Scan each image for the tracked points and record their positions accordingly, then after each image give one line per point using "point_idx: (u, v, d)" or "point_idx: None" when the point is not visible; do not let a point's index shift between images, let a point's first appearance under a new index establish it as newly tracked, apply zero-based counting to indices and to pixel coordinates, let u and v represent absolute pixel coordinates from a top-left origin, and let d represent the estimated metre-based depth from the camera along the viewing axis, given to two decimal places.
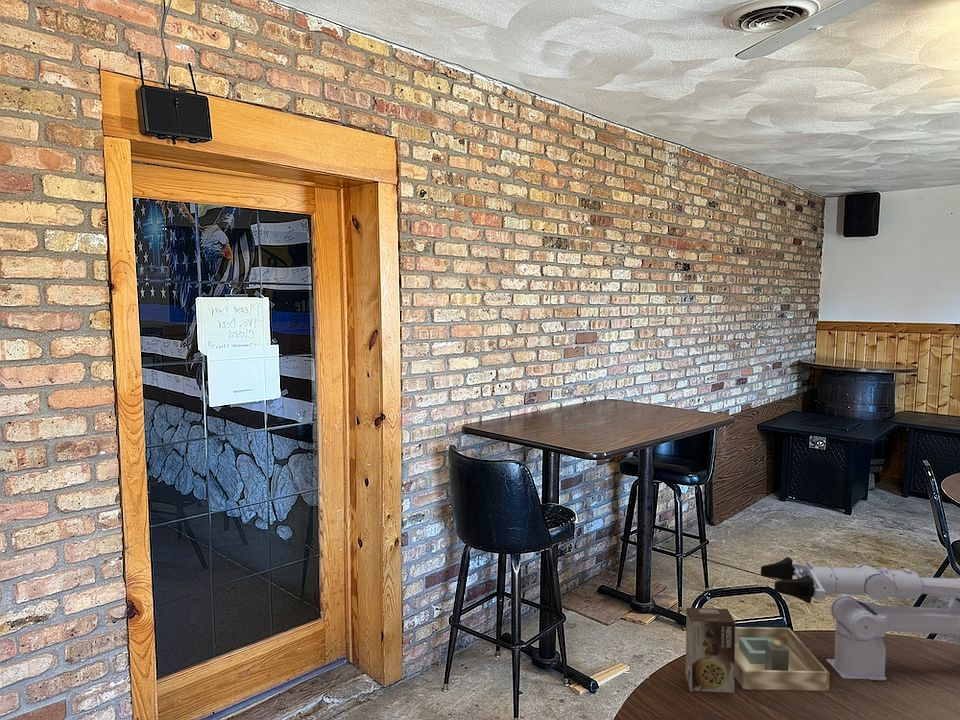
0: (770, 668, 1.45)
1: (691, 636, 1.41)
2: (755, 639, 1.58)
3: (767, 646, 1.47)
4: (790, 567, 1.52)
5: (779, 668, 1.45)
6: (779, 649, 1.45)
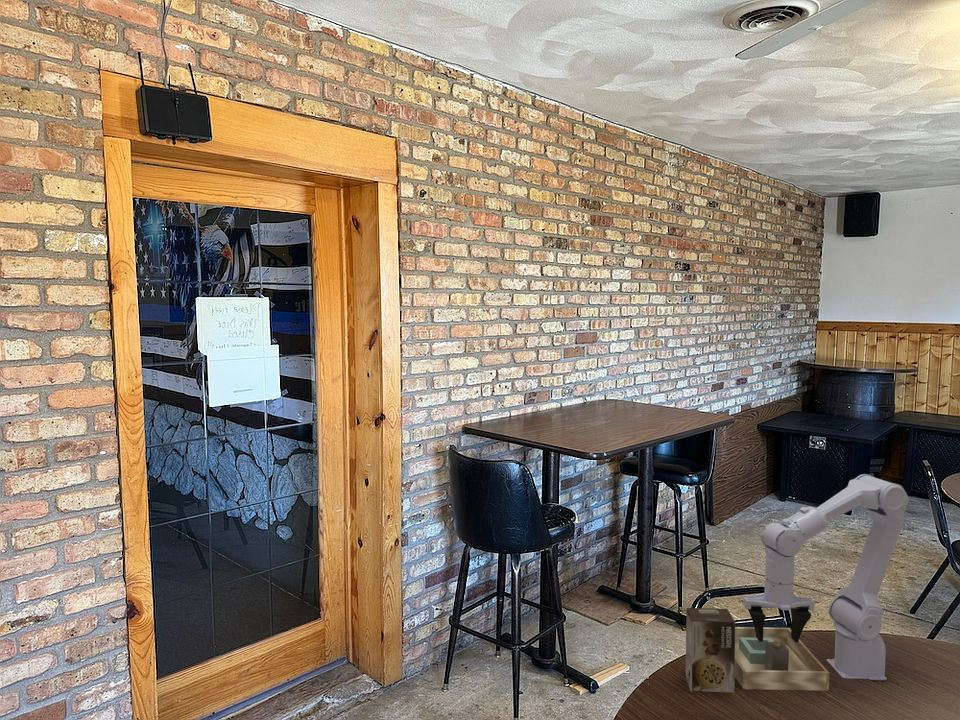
0: (770, 668, 1.45)
1: (691, 636, 1.41)
2: (755, 639, 1.58)
3: (767, 646, 1.47)
4: None
5: (779, 668, 1.45)
6: (779, 649, 1.45)
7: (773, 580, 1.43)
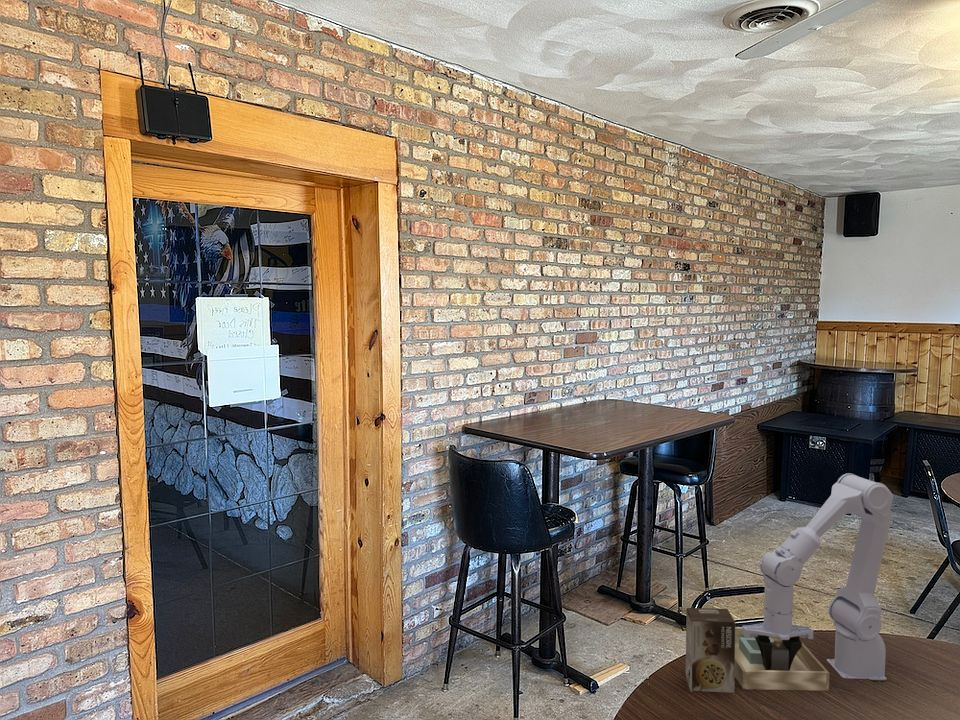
0: (770, 668, 1.45)
1: (691, 636, 1.41)
2: (755, 639, 1.58)
3: None
4: None
5: (779, 668, 1.45)
6: (779, 649, 1.45)
7: (772, 610, 1.44)
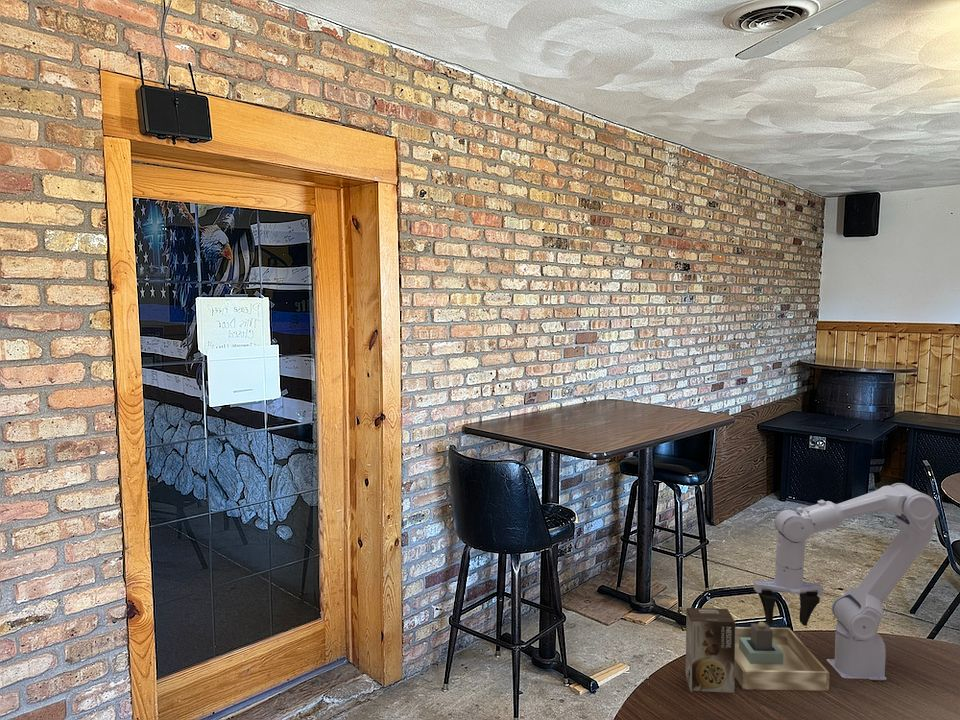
0: (755, 648, 1.54)
1: (691, 636, 1.41)
2: None
3: (752, 627, 1.56)
4: None
5: (764, 648, 1.53)
6: (763, 630, 1.53)
7: (780, 564, 1.48)
